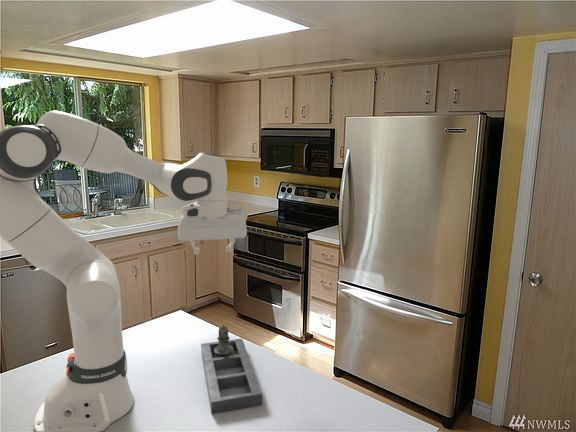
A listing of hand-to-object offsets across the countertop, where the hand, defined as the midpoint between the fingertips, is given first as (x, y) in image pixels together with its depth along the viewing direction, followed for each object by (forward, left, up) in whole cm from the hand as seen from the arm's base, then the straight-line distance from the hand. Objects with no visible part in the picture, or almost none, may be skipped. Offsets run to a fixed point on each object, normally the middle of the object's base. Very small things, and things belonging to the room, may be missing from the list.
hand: (213, 253), depth 126 cm
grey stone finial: (+2, -6, -33) cm, 34 cm away
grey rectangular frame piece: (+2, -15, -33) cm, 36 cm away
